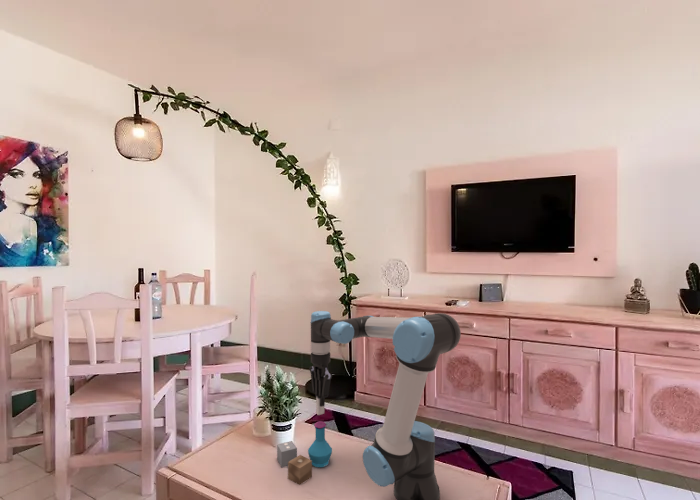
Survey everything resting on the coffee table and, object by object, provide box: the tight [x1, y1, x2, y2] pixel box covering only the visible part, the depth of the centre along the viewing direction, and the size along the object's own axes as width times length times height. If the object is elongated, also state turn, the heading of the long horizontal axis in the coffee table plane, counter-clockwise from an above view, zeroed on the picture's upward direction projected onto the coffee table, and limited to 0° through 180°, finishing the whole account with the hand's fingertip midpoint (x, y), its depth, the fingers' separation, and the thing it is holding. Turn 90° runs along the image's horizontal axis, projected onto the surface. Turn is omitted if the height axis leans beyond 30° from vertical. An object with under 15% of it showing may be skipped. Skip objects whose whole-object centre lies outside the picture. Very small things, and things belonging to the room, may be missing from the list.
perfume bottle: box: [307, 420, 333, 468], centre depth 144 cm, size 9×9×15 cm
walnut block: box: [287, 454, 313, 486], centre depth 135 cm, size 6×6×6 cm
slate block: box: [276, 440, 298, 468], centre depth 145 cm, size 6×6×6 cm
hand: (320, 413), depth 144 cm, fingers closed
